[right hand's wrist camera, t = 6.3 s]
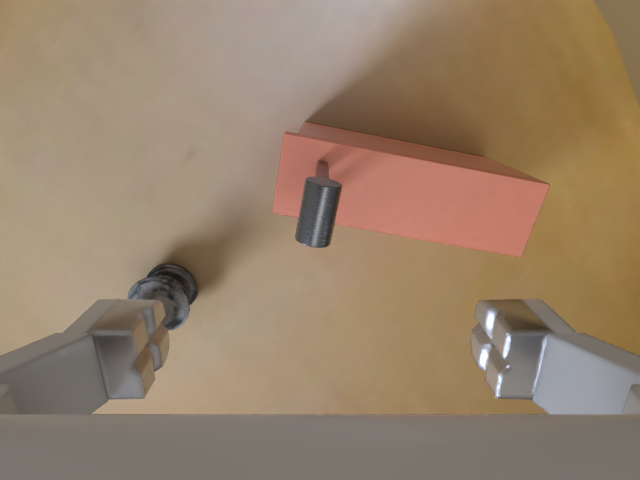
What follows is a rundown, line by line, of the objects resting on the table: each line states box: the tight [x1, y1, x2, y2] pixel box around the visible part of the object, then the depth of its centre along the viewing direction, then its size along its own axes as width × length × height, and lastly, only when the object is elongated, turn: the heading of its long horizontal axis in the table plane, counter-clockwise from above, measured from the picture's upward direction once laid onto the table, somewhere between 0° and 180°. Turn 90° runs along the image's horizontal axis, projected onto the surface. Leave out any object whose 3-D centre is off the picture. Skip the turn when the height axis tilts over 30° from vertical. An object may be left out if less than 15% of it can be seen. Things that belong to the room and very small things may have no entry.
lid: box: [272, 131, 550, 257], centre depth 23 cm, size 18×5×9 cm, turn 79°
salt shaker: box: [127, 265, 197, 331], centre depth 35 cm, size 6×6×12 cm
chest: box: [299, 122, 541, 181], centre depth 32 cm, size 17×5×10 cm, turn 79°
